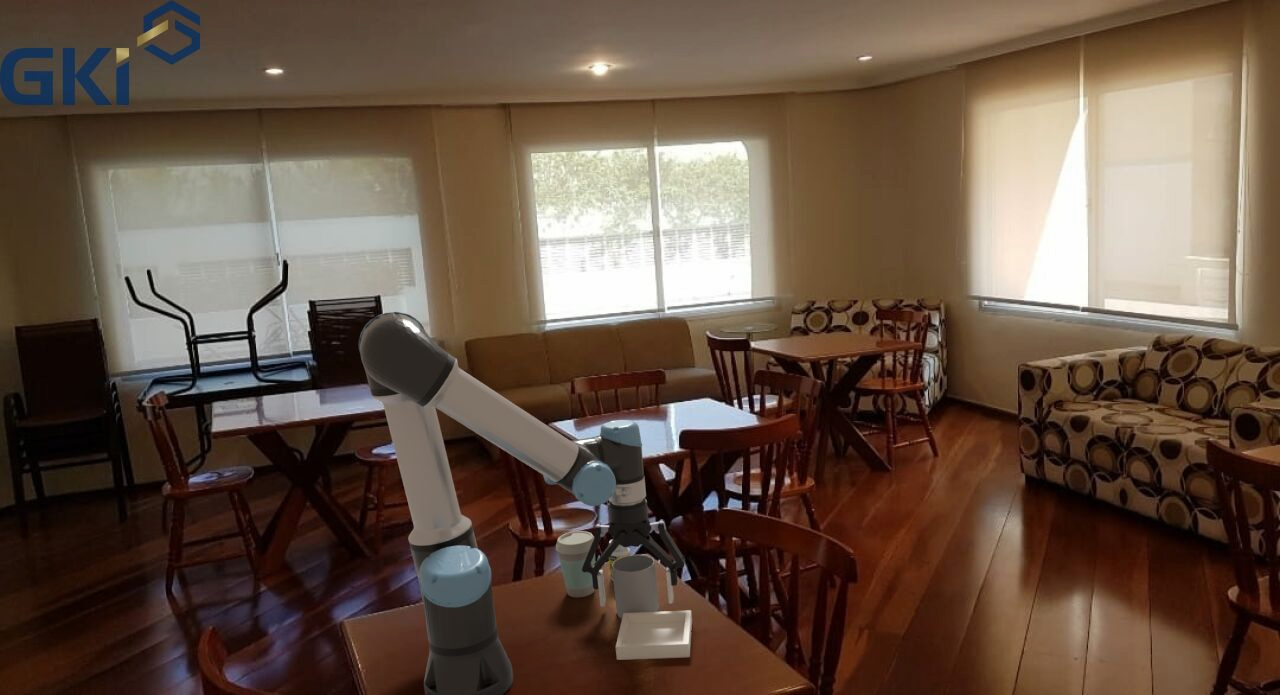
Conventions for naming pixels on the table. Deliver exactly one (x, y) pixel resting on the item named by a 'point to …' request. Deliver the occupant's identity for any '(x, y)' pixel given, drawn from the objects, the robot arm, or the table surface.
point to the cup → (635, 584)
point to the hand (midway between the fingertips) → (637, 602)
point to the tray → (654, 635)
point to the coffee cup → (575, 562)
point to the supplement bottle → (617, 556)
